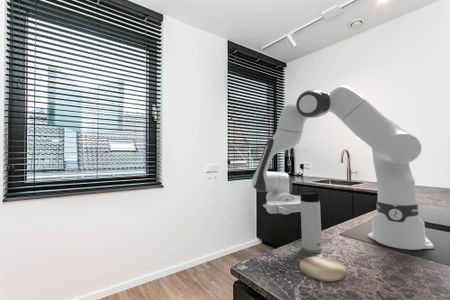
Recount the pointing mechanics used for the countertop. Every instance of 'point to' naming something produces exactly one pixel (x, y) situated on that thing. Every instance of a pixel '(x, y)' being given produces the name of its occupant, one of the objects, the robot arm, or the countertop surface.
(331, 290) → the countertop surface
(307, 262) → the gold round coaster
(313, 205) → the travel mug
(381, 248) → the countertop surface
